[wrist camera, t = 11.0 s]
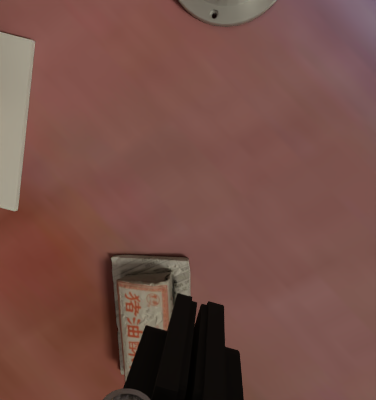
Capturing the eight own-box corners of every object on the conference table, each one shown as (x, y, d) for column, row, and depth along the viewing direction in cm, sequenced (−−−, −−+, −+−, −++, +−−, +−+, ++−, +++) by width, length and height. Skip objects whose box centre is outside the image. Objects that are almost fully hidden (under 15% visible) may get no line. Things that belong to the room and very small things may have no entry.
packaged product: (188, 402, 40) (112, 396, 41) (192, 372, 45) (123, 368, 46) (186, 272, 36) (100, 270, 37) (190, 254, 40) (113, 252, 41)
